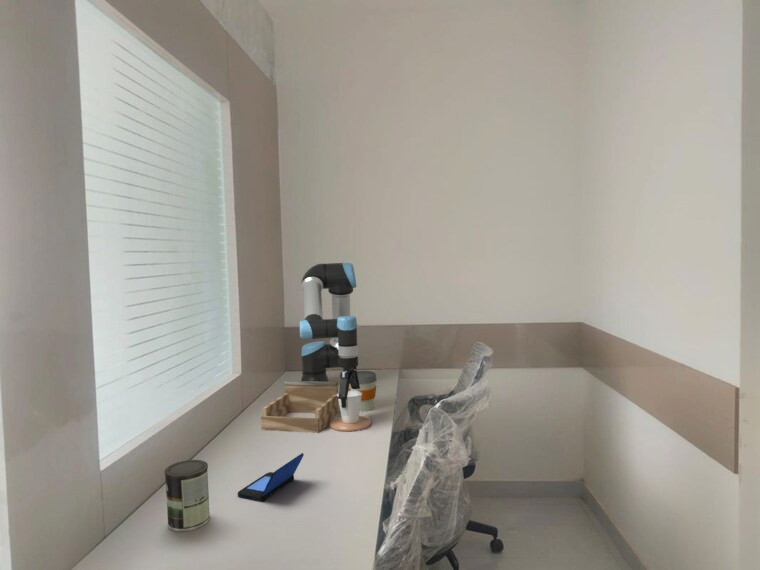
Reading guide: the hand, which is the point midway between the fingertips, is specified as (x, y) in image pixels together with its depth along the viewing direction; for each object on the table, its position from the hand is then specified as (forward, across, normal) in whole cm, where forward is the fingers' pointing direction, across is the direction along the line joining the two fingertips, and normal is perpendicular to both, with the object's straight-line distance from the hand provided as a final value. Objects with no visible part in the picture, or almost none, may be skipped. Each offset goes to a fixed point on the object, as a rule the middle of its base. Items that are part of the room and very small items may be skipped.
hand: (350, 410), depth 211 cm
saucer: (+6, 0, 0) cm, 6 cm away
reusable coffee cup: (+6, -22, -1) cm, 23 cm away
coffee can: (+6, +80, -19) cm, 82 cm away
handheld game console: (+6, +59, -6) cm, 59 cm away
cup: (+5, 0, 0) cm, 5 cm away
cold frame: (+6, -2, -21) cm, 22 cm away
